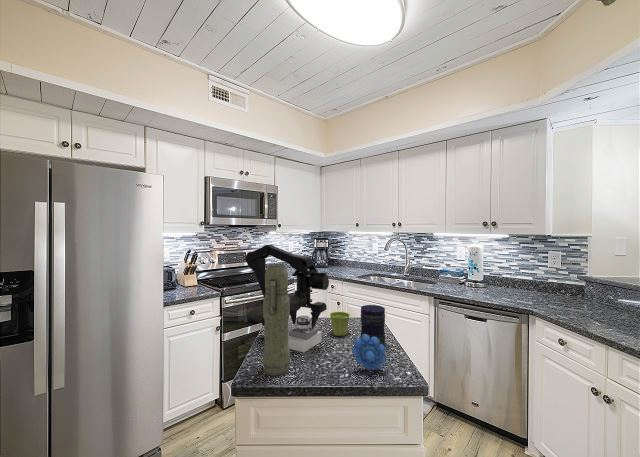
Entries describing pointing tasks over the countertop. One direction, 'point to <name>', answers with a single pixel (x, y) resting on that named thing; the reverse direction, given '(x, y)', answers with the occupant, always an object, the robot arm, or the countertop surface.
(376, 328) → the storage jar
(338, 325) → the plant pot
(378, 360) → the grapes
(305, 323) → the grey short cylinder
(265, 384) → the countertop surface
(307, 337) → the grey open box
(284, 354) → the thermos
